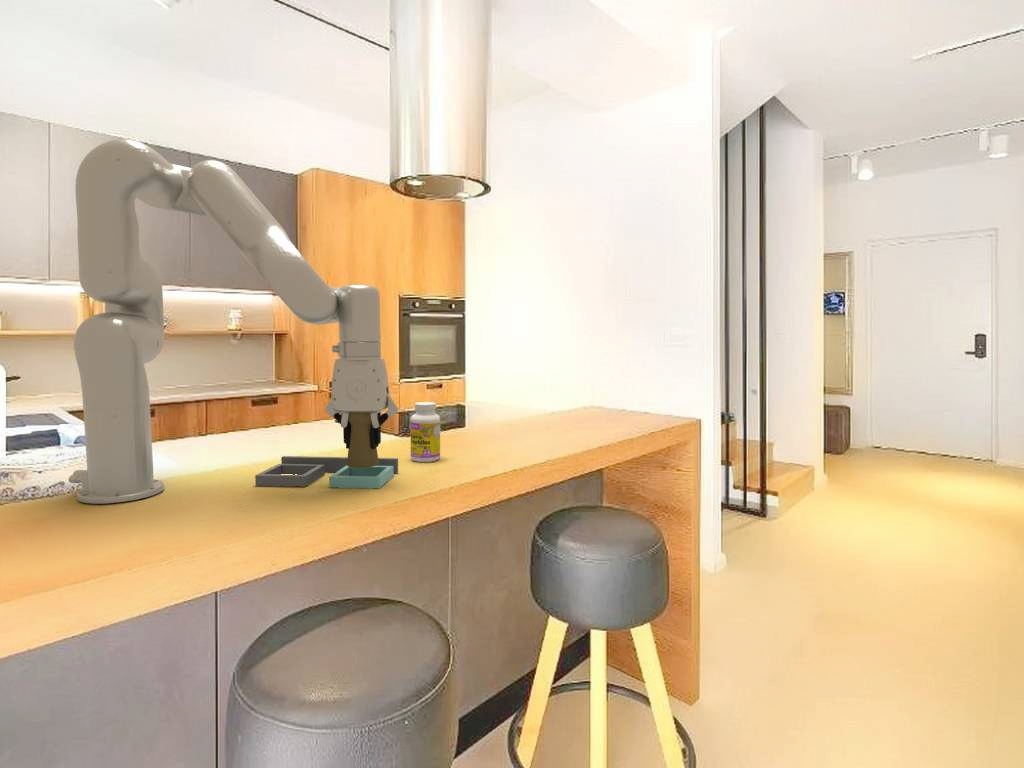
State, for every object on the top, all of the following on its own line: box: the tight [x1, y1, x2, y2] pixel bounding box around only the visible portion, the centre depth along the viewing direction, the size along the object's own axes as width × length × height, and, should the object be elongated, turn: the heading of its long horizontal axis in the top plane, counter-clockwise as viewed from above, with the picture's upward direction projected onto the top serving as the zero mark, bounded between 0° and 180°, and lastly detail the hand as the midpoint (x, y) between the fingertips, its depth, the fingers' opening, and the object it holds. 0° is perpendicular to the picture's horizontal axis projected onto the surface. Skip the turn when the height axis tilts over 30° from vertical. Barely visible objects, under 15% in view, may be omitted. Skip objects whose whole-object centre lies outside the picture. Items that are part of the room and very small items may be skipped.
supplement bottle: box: [409, 401, 441, 463], centre depth 130 cm, size 7×7×13 cm
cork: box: [347, 412, 379, 468], centre depth 110 cm, size 6×6×11 cm
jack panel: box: [254, 455, 399, 489], centre depth 112 cm, size 24×12×3 cm, turn 87°
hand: (362, 446), depth 110 cm, fingers closed on cork, 4 cm apart
